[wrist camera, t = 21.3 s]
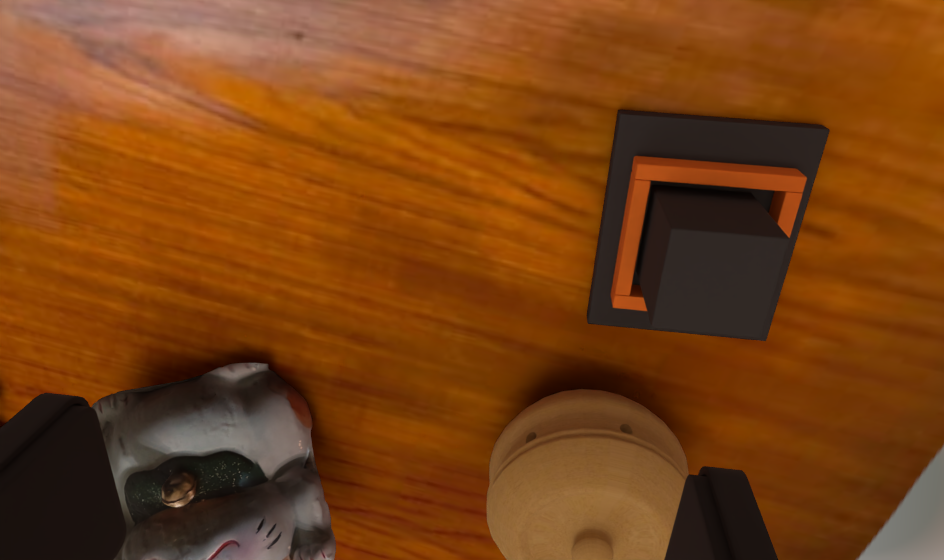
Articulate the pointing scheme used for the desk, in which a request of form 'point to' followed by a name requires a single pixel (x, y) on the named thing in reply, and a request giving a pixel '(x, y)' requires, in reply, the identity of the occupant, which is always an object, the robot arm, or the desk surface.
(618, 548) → the pot
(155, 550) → the lucky cat figurine
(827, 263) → the desk surface
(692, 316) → the dark grey cube
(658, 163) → the base pad
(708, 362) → the desk surface
